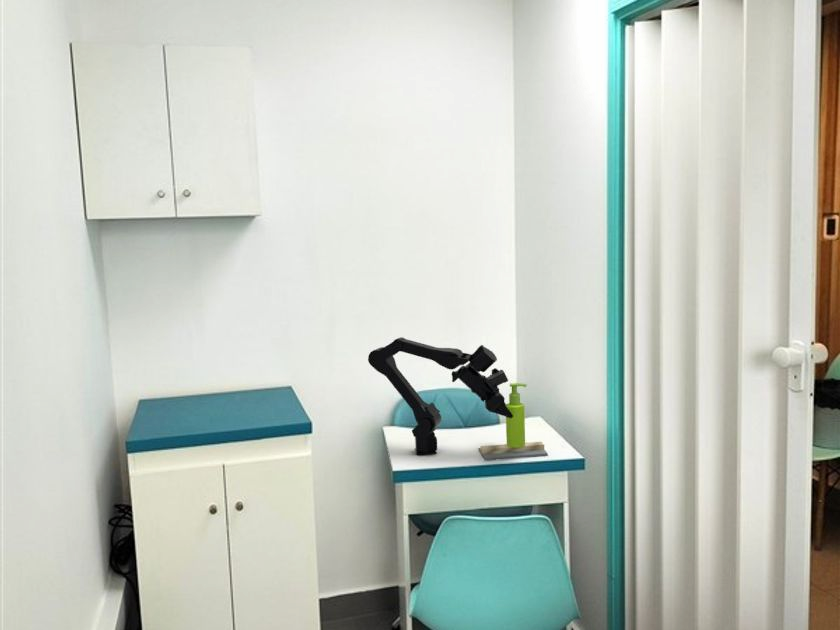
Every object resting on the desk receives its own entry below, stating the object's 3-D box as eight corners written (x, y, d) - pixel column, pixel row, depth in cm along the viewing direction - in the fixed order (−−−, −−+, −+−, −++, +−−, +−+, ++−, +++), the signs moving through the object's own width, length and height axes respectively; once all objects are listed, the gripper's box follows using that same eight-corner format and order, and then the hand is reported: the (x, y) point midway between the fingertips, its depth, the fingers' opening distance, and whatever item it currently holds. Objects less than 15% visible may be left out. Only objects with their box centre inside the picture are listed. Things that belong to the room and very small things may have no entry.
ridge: (482, 454, 239) (482, 449, 238) (480, 451, 242) (480, 446, 242) (544, 449, 241) (544, 444, 240) (541, 446, 244) (541, 441, 244)
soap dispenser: (528, 447, 238) (526, 385, 235) (506, 447, 239) (504, 385, 237) (529, 442, 243) (527, 381, 241) (507, 442, 245) (505, 381, 242)
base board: (484, 460, 235) (484, 458, 235) (478, 450, 246) (478, 447, 246) (547, 455, 237) (547, 453, 237) (538, 445, 248) (538, 443, 248)
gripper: (495, 368, 229) (532, 402, 230) (488, 357, 247) (522, 388, 249) (470, 394, 229) (507, 428, 231) (465, 381, 248) (499, 413, 250)
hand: (510, 413), depth 240 cm, fingers open, 9 cm apart
